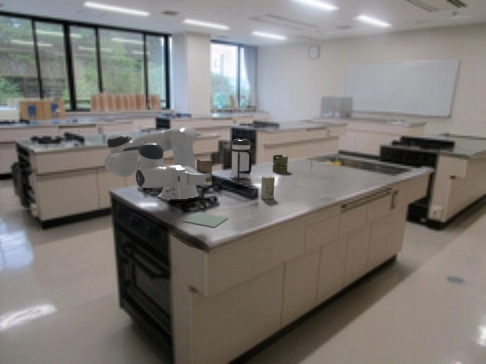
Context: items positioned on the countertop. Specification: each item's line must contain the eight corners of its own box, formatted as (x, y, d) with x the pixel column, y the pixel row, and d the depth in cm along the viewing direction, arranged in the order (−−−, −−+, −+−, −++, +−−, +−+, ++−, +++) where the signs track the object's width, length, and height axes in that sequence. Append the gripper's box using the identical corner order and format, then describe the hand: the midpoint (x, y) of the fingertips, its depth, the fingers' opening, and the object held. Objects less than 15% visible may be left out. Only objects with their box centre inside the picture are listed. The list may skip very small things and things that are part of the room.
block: (207, 158, 152) (206, 182, 155) (197, 159, 150) (196, 183, 153) (212, 160, 148) (211, 185, 151) (201, 161, 146) (201, 186, 148)
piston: (280, 157, 253) (270, 155, 261) (279, 173, 256) (269, 171, 264) (291, 156, 260) (280, 154, 268) (290, 171, 262) (279, 169, 271)
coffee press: (226, 180, 232) (226, 135, 224) (233, 175, 246) (234, 133, 239) (250, 182, 227) (252, 137, 219) (257, 177, 241) (258, 134, 234)
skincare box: (265, 199, 189) (266, 178, 186) (260, 197, 193) (261, 176, 190) (274, 197, 193) (275, 176, 190) (269, 196, 196) (270, 175, 193)
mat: (183, 221, 153) (183, 220, 153) (198, 213, 165) (198, 212, 165) (214, 227, 147) (214, 226, 147) (228, 218, 159) (228, 217, 158)
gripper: (168, 177, 154) (197, 175, 161) (185, 188, 137) (216, 185, 143) (168, 163, 152) (197, 162, 159) (185, 173, 135) (216, 170, 142)
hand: (206, 173), depth 151 cm, fingers closed on block, 5 cm apart
